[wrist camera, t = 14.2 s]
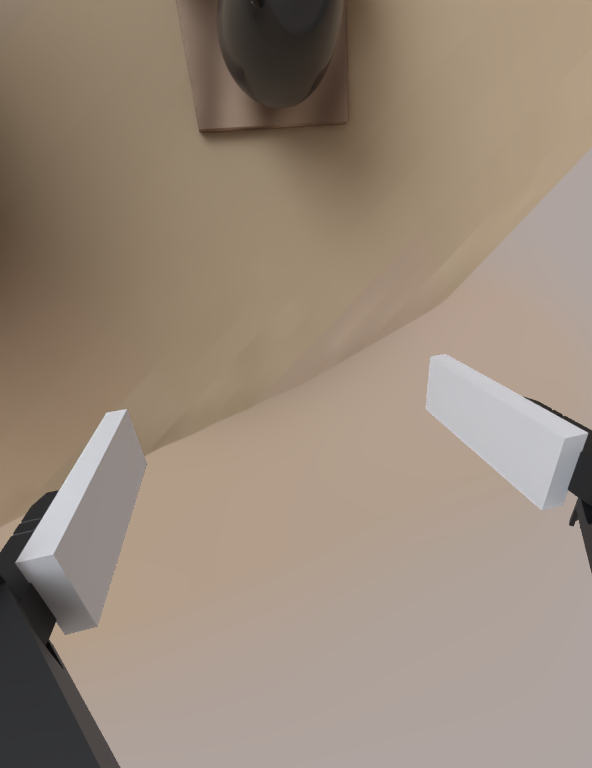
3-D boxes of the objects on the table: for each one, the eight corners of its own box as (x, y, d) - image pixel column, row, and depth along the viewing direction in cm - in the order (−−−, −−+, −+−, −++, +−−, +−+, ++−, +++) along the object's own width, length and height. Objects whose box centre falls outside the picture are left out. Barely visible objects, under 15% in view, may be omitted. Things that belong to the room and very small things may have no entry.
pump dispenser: (195, 5, 30) (176, -173, 17) (300, -37, 31) (364, -245, 17) (241, 136, 35) (256, 78, 22) (332, 98, 35) (402, 18, 22)
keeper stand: (199, 132, 35) (189, 80, 23) (165, -60, 29) (126, -271, 17) (344, 123, 37) (406, 72, 25) (340, -55, 31) (419, -238, 19)
